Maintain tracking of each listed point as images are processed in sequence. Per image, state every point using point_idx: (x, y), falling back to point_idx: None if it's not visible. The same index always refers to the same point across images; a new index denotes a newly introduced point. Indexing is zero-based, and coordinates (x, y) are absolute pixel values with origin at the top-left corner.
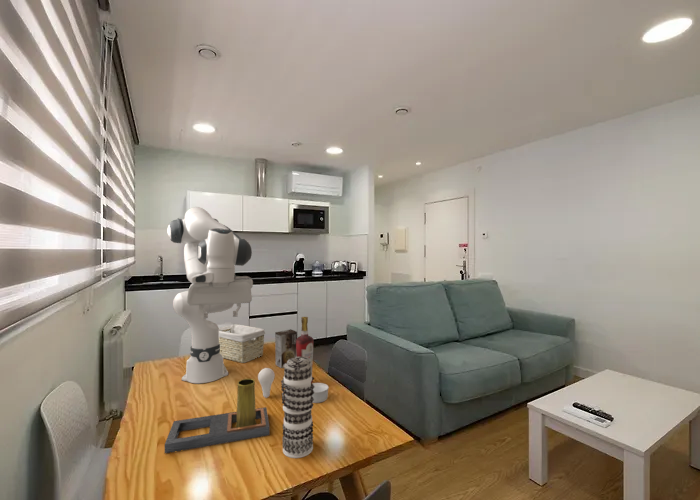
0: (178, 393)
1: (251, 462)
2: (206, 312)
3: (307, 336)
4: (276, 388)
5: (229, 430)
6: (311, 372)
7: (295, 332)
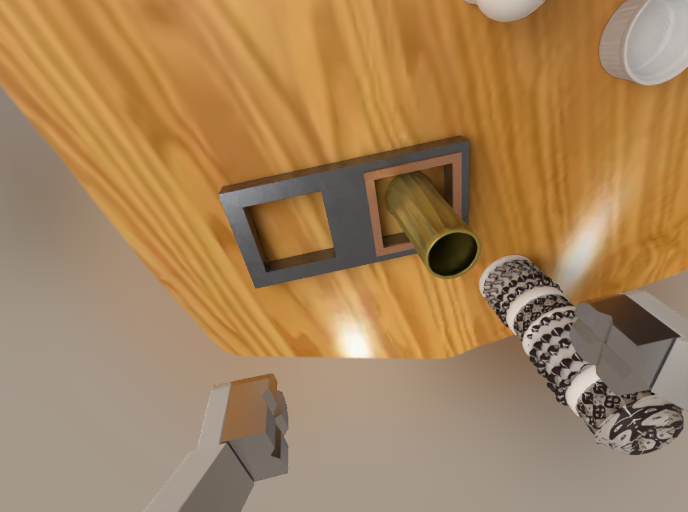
0: None
1: (424, 306)
2: (253, 447)
3: None
4: None
5: (381, 255)
6: None
7: None
